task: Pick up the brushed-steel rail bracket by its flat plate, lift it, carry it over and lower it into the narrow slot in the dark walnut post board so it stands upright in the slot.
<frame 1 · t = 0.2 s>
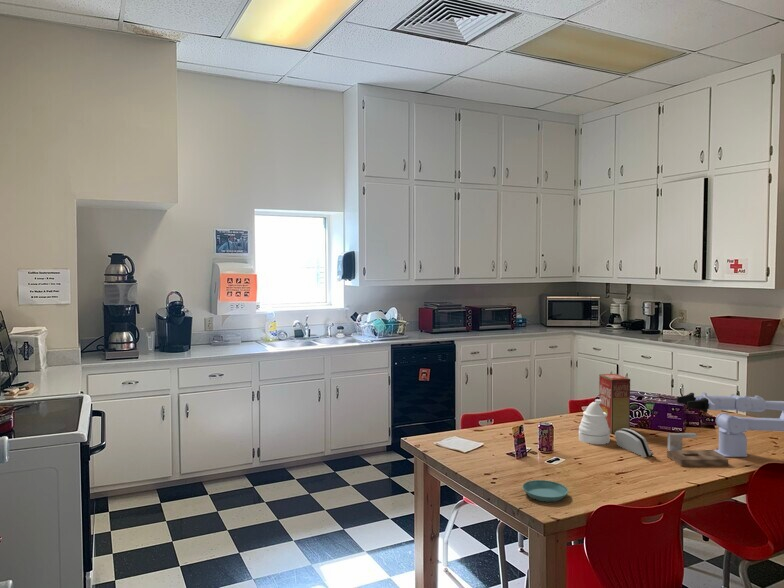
hand: (682, 402, 235), 21 cm above the table, tool horizontal, fingers open, 7 cm apart
napkin holder: (632, 452, 240), on the table
bracket: (674, 450, 241), on the table
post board: (696, 461, 228), on the table
food packaging: (613, 430, 271), on the table
saucer: (544, 496, 195), on the table
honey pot: (593, 440, 256), on the table
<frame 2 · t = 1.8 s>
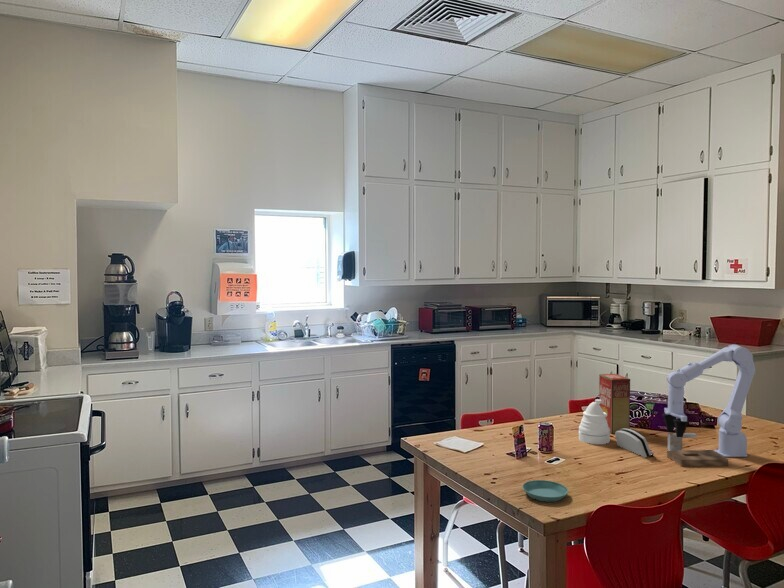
hand: (674, 434, 240), 7 cm above the table, tool pointing down, fingers open, 7 cm apart
nothing on the table moved.
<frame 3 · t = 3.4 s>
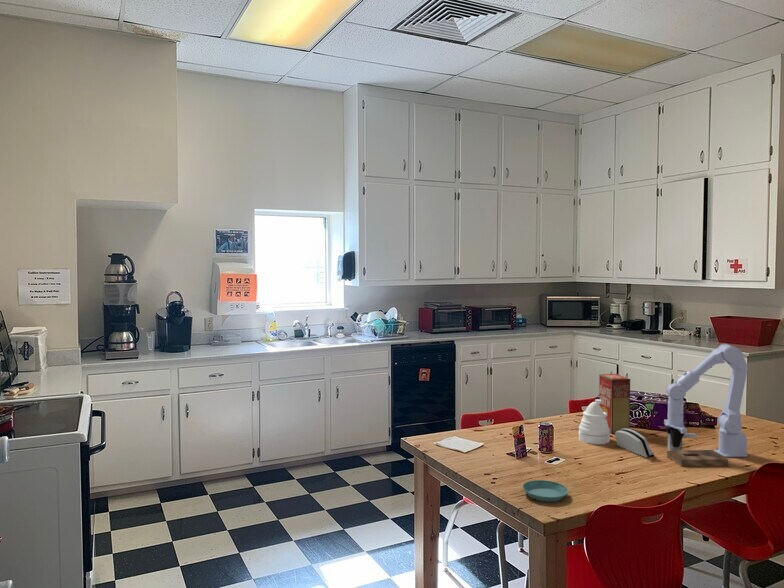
hand: (674, 446, 241), 2 cm above the table, tool pointing down, fingers closed on bracket, 2 cm apart
bracket: (674, 450, 241), on the table, touching gripper
everything else where it was.
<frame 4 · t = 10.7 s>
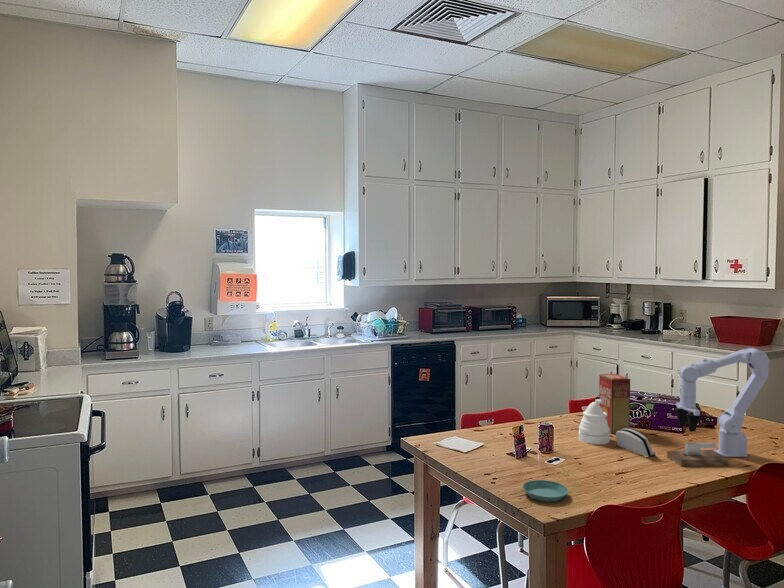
hand: (687, 428, 239), 9 cm above the table, tool pointing down, fingers open, 7 cm apart
bracket: (692, 461, 228), resting in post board
everything else where it was.
at the end: bracket 0.2 cm from the target spot on the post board, point 0.0 cm above the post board's base; bracket tilted 0°; the gripper is holding nothing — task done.
